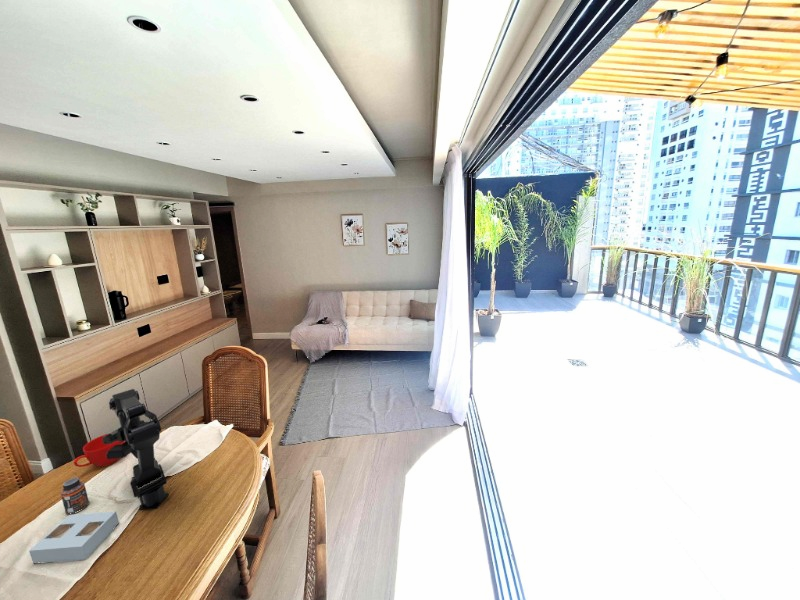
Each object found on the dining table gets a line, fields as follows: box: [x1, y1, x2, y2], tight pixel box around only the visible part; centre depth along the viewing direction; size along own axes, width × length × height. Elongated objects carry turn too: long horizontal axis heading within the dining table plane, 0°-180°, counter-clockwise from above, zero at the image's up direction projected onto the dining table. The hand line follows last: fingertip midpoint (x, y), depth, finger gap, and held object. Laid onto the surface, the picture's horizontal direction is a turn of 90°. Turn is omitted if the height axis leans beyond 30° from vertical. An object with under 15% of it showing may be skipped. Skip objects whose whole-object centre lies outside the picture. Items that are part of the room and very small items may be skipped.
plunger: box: [51, 524, 70, 538], centre depth 96 cm, size 4×4×4 cm
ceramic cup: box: [73, 432, 125, 468], centre depth 131 cm, size 13×17×10 cm
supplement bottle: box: [60, 477, 90, 515], centre depth 109 cm, size 6×6×11 cm
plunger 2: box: [81, 522, 99, 536], centre depth 97 cm, size 4×4×4 cm
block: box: [28, 510, 120, 564], centre depth 97 cm, size 15×12×5 cm
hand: (138, 457), depth 118 cm, fingers closed
